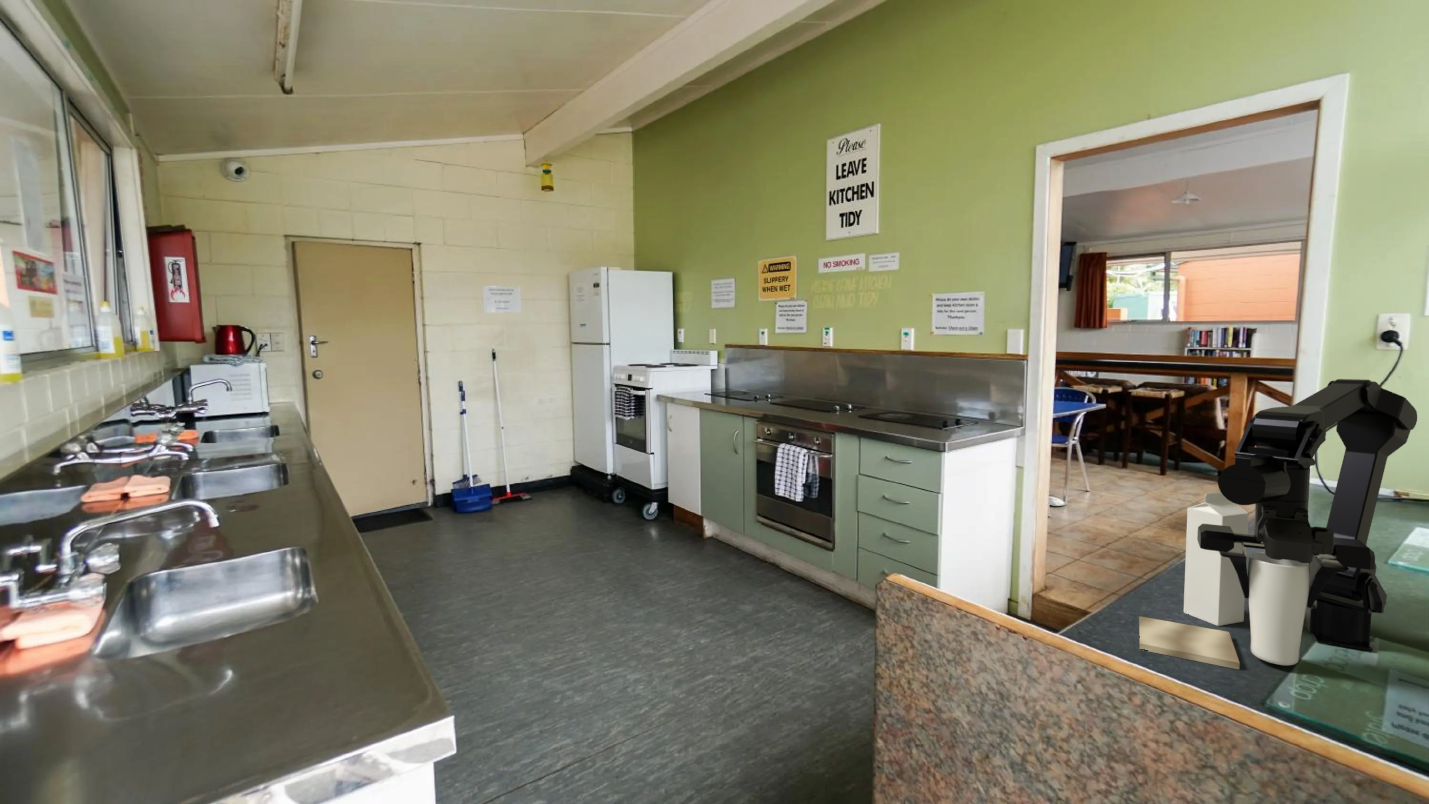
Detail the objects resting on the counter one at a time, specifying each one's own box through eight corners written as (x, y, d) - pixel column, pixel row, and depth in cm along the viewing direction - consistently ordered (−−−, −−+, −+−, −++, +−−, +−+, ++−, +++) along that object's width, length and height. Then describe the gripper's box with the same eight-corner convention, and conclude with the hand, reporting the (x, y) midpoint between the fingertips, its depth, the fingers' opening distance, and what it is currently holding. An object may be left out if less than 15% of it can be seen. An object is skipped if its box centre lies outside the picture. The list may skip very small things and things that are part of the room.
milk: (1244, 622, 108) (1251, 494, 106) (1217, 626, 106) (1224, 497, 104) (1207, 608, 114) (1213, 487, 112) (1181, 612, 112) (1187, 489, 110)
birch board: (1228, 637, 102) (1228, 631, 102) (1239, 669, 92) (1239, 662, 92) (1139, 621, 108) (1139, 616, 108) (1139, 649, 98) (1140, 643, 98)
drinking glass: (1317, 671, 89) (1323, 568, 88) (1262, 667, 91) (1267, 565, 90) (1285, 649, 96) (1289, 552, 95) (1234, 646, 97) (1238, 551, 96)
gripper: (1205, 501, 90) (1201, 608, 91) (1392, 518, 80) (1384, 637, 81) (1199, 487, 99) (1195, 583, 101) (1365, 500, 89) (1358, 607, 90)
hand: (1276, 602), depth 93 cm, fingers closed on drinking glass, 6 cm apart
